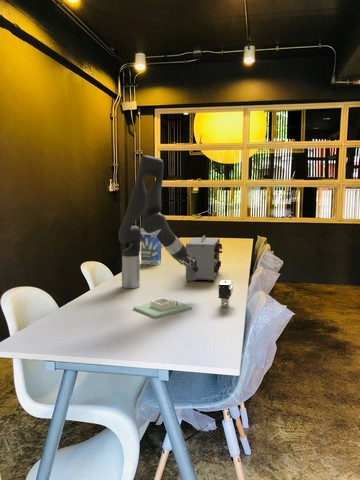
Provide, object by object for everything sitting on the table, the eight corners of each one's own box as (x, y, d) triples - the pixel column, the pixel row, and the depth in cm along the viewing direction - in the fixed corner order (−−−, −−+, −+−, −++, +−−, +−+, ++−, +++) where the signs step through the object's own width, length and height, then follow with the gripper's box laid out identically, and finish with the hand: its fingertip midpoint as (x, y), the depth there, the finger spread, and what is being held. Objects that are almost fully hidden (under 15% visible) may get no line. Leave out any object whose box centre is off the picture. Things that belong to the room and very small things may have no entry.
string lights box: (140, 264, 266) (140, 228, 262) (145, 262, 273) (144, 227, 270) (158, 265, 262) (157, 229, 258) (161, 263, 269) (161, 228, 266)
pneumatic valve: (217, 309, 162) (218, 282, 160) (221, 302, 173) (221, 276, 171) (230, 310, 160) (231, 283, 159) (233, 302, 172) (233, 277, 170)
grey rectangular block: (190, 280, 174) (191, 260, 173) (185, 279, 177) (186, 259, 175) (196, 279, 176) (196, 259, 175) (191, 278, 179) (191, 258, 178)
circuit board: (155, 318, 150) (155, 310, 150) (133, 309, 162) (133, 301, 162) (191, 308, 163) (191, 300, 163) (168, 300, 175) (168, 293, 175)
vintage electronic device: (217, 283, 209) (217, 239, 206) (185, 281, 213) (185, 238, 210) (222, 271, 240) (222, 233, 237) (194, 270, 244) (194, 233, 241)
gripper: (189, 242, 164) (208, 266, 173) (169, 239, 175) (188, 261, 184) (180, 255, 161) (200, 278, 171) (160, 251, 172) (180, 273, 181)
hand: (194, 269), depth 177 cm, fingers closed on grey rectangular block, 3 cm apart
